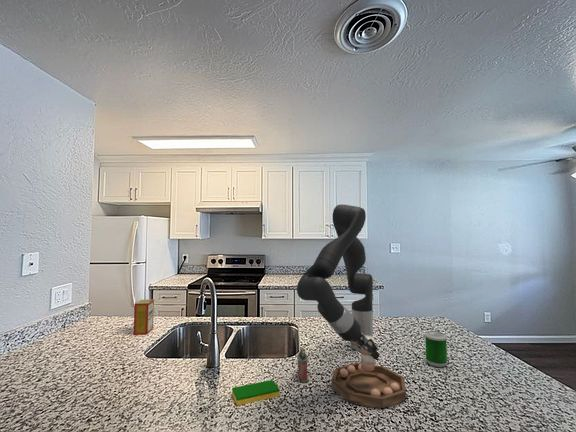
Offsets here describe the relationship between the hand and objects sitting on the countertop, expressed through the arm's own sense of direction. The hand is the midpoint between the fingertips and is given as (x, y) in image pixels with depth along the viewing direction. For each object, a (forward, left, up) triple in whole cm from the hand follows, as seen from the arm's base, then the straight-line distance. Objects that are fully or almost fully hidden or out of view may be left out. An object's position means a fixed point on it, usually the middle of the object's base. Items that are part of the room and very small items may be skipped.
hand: (372, 354), depth 102 cm
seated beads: (0, -2, -11) cm, 11 cm away
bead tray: (0, -2, -11) cm, 11 cm away
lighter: (-16, -18, -11) cm, 26 cm away
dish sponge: (-13, -37, -11) cm, 41 cm away
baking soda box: (-97, -67, -11) cm, 118 cm away
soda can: (-2, +35, -11) cm, 37 cm away
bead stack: (0, -2, -4) cm, 5 cm away
